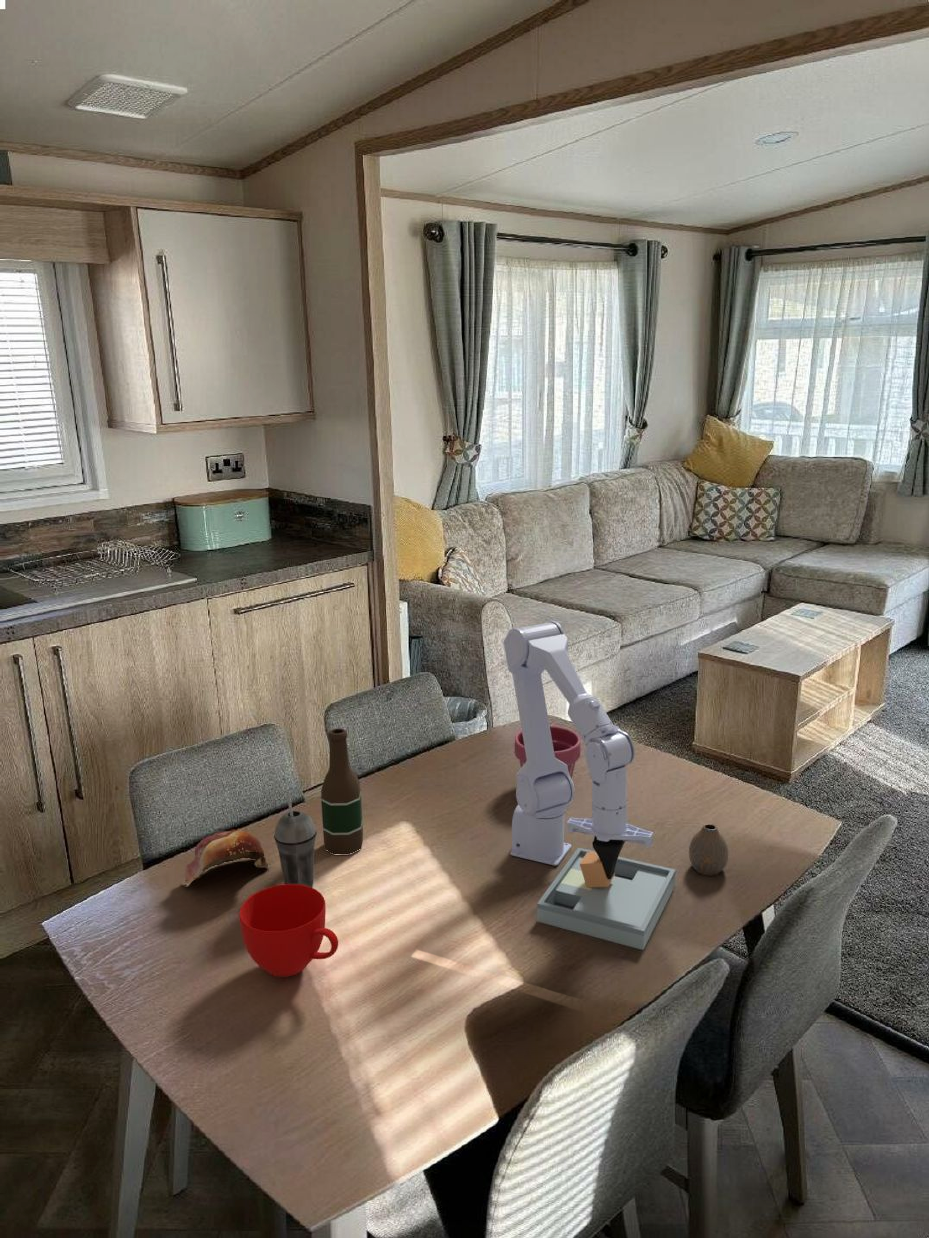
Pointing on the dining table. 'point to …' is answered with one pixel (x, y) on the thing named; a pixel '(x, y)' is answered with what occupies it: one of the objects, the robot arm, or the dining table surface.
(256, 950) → the ceramic cup
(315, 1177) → the dining table surface
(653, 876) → the box
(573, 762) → the plant pot
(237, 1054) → the dining table surface
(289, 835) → the beverage cup
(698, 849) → the vase
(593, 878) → the block
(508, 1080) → the dining table surface
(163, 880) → the dining table surface
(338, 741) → the beer bottle
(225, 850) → the brown arched piece
